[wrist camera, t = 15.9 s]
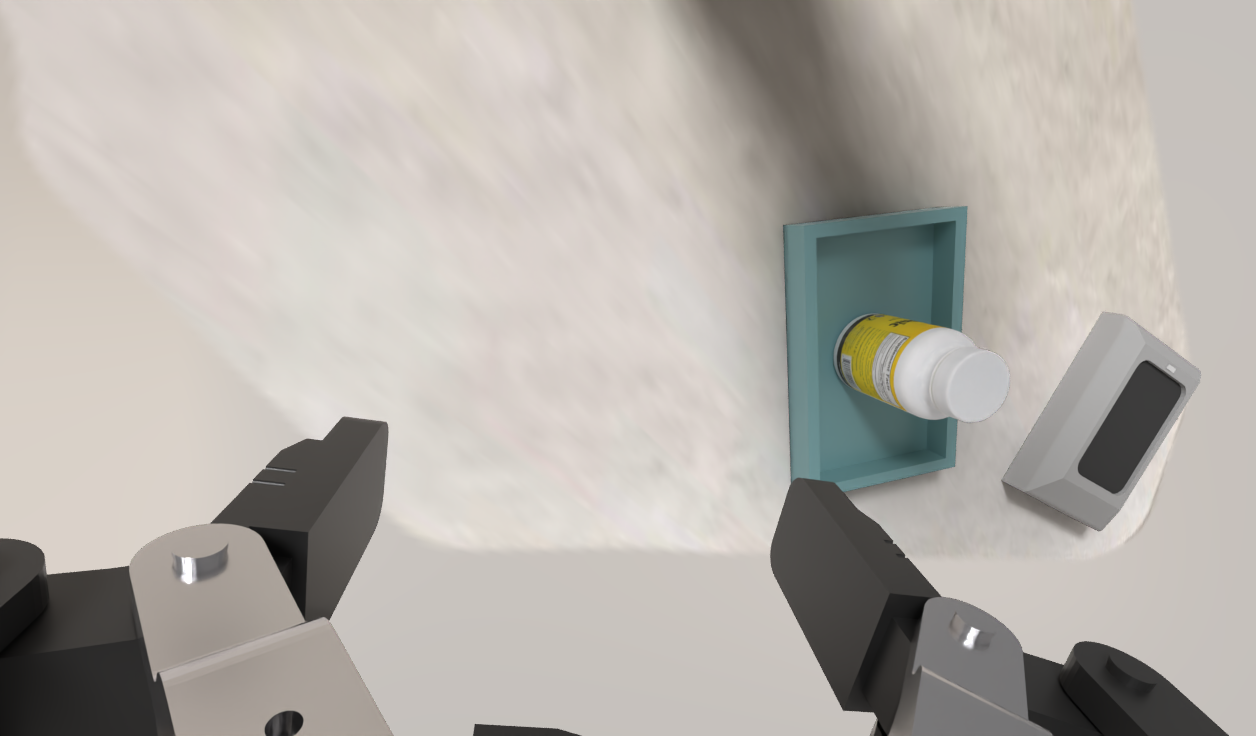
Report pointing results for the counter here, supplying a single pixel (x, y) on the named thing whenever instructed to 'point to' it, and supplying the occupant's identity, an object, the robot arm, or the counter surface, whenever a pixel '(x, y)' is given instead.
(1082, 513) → the gray beveled slab
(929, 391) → the supplement bottle
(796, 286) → the tray
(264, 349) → the counter surface
